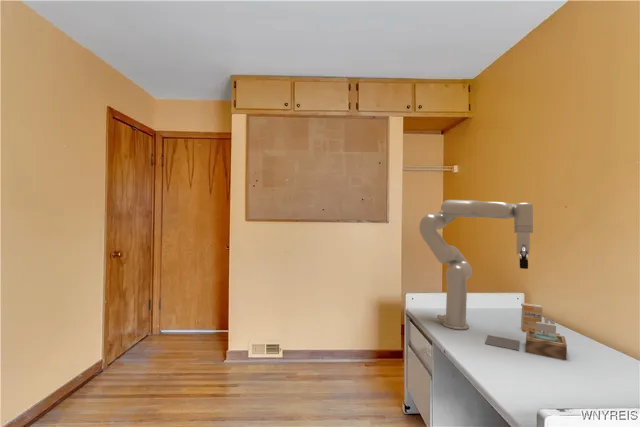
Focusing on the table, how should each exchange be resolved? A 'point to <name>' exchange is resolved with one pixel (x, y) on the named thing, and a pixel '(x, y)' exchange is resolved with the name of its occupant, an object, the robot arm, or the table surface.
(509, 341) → the mat
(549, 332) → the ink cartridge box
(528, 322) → the supplement box
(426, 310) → the table surface
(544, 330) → the cover
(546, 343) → the tray
